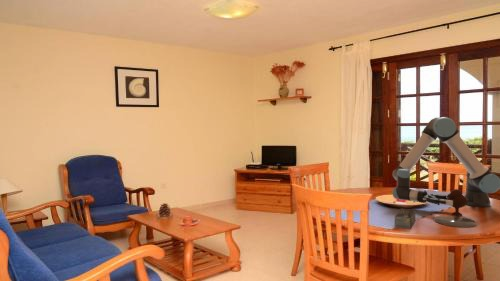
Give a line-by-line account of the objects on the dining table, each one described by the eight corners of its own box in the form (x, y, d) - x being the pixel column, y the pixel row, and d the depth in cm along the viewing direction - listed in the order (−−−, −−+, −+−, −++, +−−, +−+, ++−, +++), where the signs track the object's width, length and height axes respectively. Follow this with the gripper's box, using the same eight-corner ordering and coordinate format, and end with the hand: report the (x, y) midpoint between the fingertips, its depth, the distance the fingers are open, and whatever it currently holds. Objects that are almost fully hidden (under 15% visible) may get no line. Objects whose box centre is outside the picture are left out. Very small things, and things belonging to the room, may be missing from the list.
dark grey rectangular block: (393, 227, 187) (394, 214, 187) (400, 218, 203) (400, 207, 203) (410, 229, 183) (410, 216, 183) (415, 220, 199) (415, 208, 199)
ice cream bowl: (471, 217, 204) (471, 191, 203) (449, 216, 206) (450, 190, 205) (464, 213, 214) (464, 187, 213) (443, 212, 216) (443, 187, 215)
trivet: (470, 218, 202) (470, 217, 202) (482, 228, 183) (482, 227, 183) (430, 216, 207) (430, 214, 207) (437, 225, 188) (438, 224, 188)
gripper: (426, 199, 233) (463, 204, 218) (410, 205, 216) (448, 211, 201) (427, 187, 233) (464, 191, 218) (410, 192, 216) (449, 198, 201)
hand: (456, 201), depth 209 cm, fingers open, 13 cm apart
